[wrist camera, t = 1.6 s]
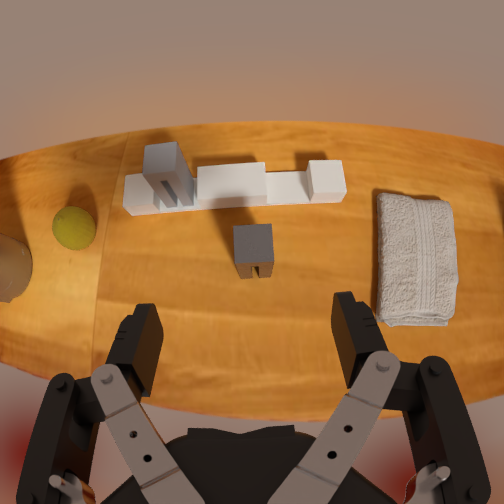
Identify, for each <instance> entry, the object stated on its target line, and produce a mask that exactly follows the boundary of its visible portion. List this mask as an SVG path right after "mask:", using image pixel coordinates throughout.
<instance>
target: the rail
mask: <svg viewBox="0 0 504 504" xmlns="http://www.w3.org/2000/svg"><path fill="white" fill-rule="evenodd" d="M346 193H347V190H346V184H345V178H344V173H343V167H342V162H341V160H309V163H308V166H307V170H306V171H295V172H271V173H266V172H265V162H255V163H239V164H225V165H213V166H201V167H197V178H193V177H192V175H191V173H190V170H189V168H188V166H187V164H186V161H185V159H184V157H183V155H182V152H181V150H180V148H179V145H178V143H177V141H176V142H168V143H160V144H153V145H146V146H145V151H144V160H143V170H142V173H139V174H132V175H126V177H125V186H124V196H123V208H124V209H125V210H126V211H128V212H129V213H130V214H131V215H132V216H136V215H146V214H157V213H168V212H180V211H192V210H205V209H219V208H234V207H250V206H267V205H286V204H309V203H337V202H341V201H342V199H343V197H344V196H345V194H346Z"/></svg>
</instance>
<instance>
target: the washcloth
mask: <svg viewBox="0 0 504 504" xmlns="http://www.w3.org/2000/svg"><path fill="white" fill-rule="evenodd" d="M376 197H377V213H378V218H377V220H378V262H379V268H378V277H379V281H378V294H377V306H376V314H375V316H376V321H377V322H385V323H386V324H387V325H388V326H390V327H392V326H396V325H414V326H415V325H416V326H447V324H448V320H449V318H451V317H452V316H453V315H454V311H455V294H456V287H457V284H458V280H459V278H458V273H457V258H456V239H455V233H454V223H453V222H454V221H453V212H452V209H451V206H450V204H449V202H447V201H443V200H429V199H428V200H421V199H413V198H411V197H410V196H404V195H398V194H390V193H380V194H378V196H376Z"/></svg>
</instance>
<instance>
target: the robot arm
mask: <svg viewBox="0 0 504 504" xmlns="http://www.w3.org/2000/svg"><path fill="white" fill-rule="evenodd" d="M31 272H32V259H31V254H30V251H29V249H28V248H27V246H26V245H25V244H24V243H22V242H20V241H18V240H16V239H14V238H11V237H8V236H6V235H4V234H2V233H0V301H1V302H7V303H10V301H11V300H12V298H15V297H18V296H19V295H20V294H22V293H23V291H24V290H25V289H26V287H27V285H28V283H29V281H30V277H31ZM331 328H332V333H333V336H334V340H335V344H336V347H337V351H338V355H339V359H340V362H341V366H342V370H343V374H344V378H345V382H346V386H347V389H349V388H351V389H350V391H349V392H348V394H345V395H344V397H343V398H342V400H341V401H340V403H339V405H338V406H337V408H336V410H335V411H334V413H333V414H332V416H331V417H330V419H329V421H328V422H327V424H326V425H325V427H324V428H323V430H322V431H321V433H320V434H319V436H318V437H317V438H315V437H313V436H311V435H308V434H306V433H301V432H295V429H294V425H287V426H273V427H266V428H262V429H258V430H255V431H251V432H247V433H243V434H236V433H232V432H227V431H222V430H218V429H213V428H208V429H207V428H188V434H187V435H184V436H181V437H178V438H176V439H173V440H172V441H170V442H168V443H167V444H166V443H165V442H164V441H163V439H162V438H161V436H160V435H159V433H158V431H157V430H156V428H155V427H154V425H153V424H152V422H151V420H150V419H149V417H148V416H147V414H146V412H145V411H144V409H143V407H142V406H141V404H140V401H141V397H150V394H151V390H152V385H153V381H154V376H155V372H156V368H157V363H158V359H159V355H160V351H161V347H162V343H163V327H162V324H161V322H160V319H159V316H158V313H157V310H156V307H155V305H154V304H153V303H148V304H137V305H136V308H135V310H134V313H133V315H127V317H126V318H125V319H124V320H123V321H122V322H121V324H120V326H119V329H118V333H117V334H116V336H115V340H114V342H113V344H112V347H111V349H110V352H109V355H108V358H107V360H106V363H105V365H102V366H100V367H98V368H97V369H96V370H95V371H94V372H93V374H92V376H91V377H87V378H82V379H77V380H75V379H74V378H73V377H72V376H71V375H70V374H68V373H60V374H58V375H56V376H54V377H53V378H52V379H51V381H50V382H49V385H48V387H47V390H46V393H45V396H44V398H43V401H42V404H41V407H40V410H39V413H38V416H37V420H36V423H35V425H34V429H33V432H32V435H31V439H30V442H29V445H28V449H27V453H26V456H25V460H24V464H23V468H22V472H21V476H20V480H19V485H18V489H17V495H16V502H17V504H96V500H95V493H94V491H93V489H92V488H91V487H90V486H89V485H88V484H89V477H90V472H91V465H92V460H93V454H94V449H95V444H96V439H97V434H98V429H99V425H100V422H103V421H106V424H107V426H108V428H109V430H110V432H111V434H112V436H113V438H114V440H115V442H116V444H117V446H118V448H119V450H120V451H121V454H122V455H123V457H124V459H125V461H126V463H127V465H128V466H129V468H130V470H131V471H132V473H133V475H132V476H131V477H130V478H128V479H127V480H126V481H125V482H124V483H123V484H122V485H121V486H120V487H119V488H117V489H116V490H115V491H114V492H113V493H112V494H110V495H109V496H108V497H107V498H106V499H105V500H104V501H102V502H101V503H100V504H397V503H396V502H395V501H394V500H393V499H392V498H391V497H390V496H388V495H387V494H386V493H384V492H383V491H382V490H381V489H379V488H378V487H377V486H375V485H374V484H373V483H372V482H370V481H369V480H368V479H366V478H365V477H364V476H363V475H361V474H360V473H359V472H358V471H357V470H355V469H354V468H353V467H352V464H353V463H354V461H355V459H356V457H357V456H358V454H359V452H360V450H361V449H362V447H363V445H364V443H365V441H366V440H367V438H368V435H369V434H370V432H371V430H372V428H373V426H374V424H375V422H376V420H377V418H378V416H379V414H380V412H381V410H382V409H389V410H400V411H402V413H403V417H404V421H405V425H406V429H407V433H408V437H409V442H410V446H411V450H412V454H413V459H414V465H415V469H416V475H415V476H413V477H412V478H411V479H410V481H409V482H408V484H407V486H406V497H405V500H404V502H403V504H486V503H487V502H488V500H489V498H490V494H491V487H490V482H489V478H488V475H487V471H486V467H485V464H484V460H483V457H482V454H481V450H480V447H479V444H478V441H477V438H476V435H475V432H474V429H473V426H472V423H471V420H470V417H469V414H468V412H467V409H466V406H465V403H464V401H463V398H462V395H461V393H460V390H459V388H458V385H457V383H456V380H455V378H454V375H453V373H452V371H451V368H450V366H449V364H448V363H447V362H446V361H445V360H444V359H443V358H441V357H438V356H428V357H426V358H424V359H423V360H422V361H421V363H420V364H417V363H407V362H402V361H399V359H398V358H397V357H396V356H395V355H394V354H393V353H391V352H389V351H388V348H387V346H386V344H385V341H384V339H383V336H382V334H381V331H380V329H379V327H378V326H377V322H376V320H375V318H374V315H373V313H372V310H371V308H370V307H369V306H368V305H366V304H365V303H364V302H363V301H362V302H356V301H355V298H354V296H353V294H352V292H351V291H347V292H336V293H334V297H333V306H332V314H331Z"/></svg>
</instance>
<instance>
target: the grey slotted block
mask: <svg viewBox="0 0 504 504" xmlns="http://www.w3.org/2000/svg"><path fill="white" fill-rule="evenodd" d="M233 234H234V258H235V265H236V268H237V270H238V273H239V275H240V277H241V279H250V278H253V276H252V267H253V266H259V278H267V277H271V274H272V269H273V265H274V251H273V237H272V224H256V225H239V226H233Z"/></svg>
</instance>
